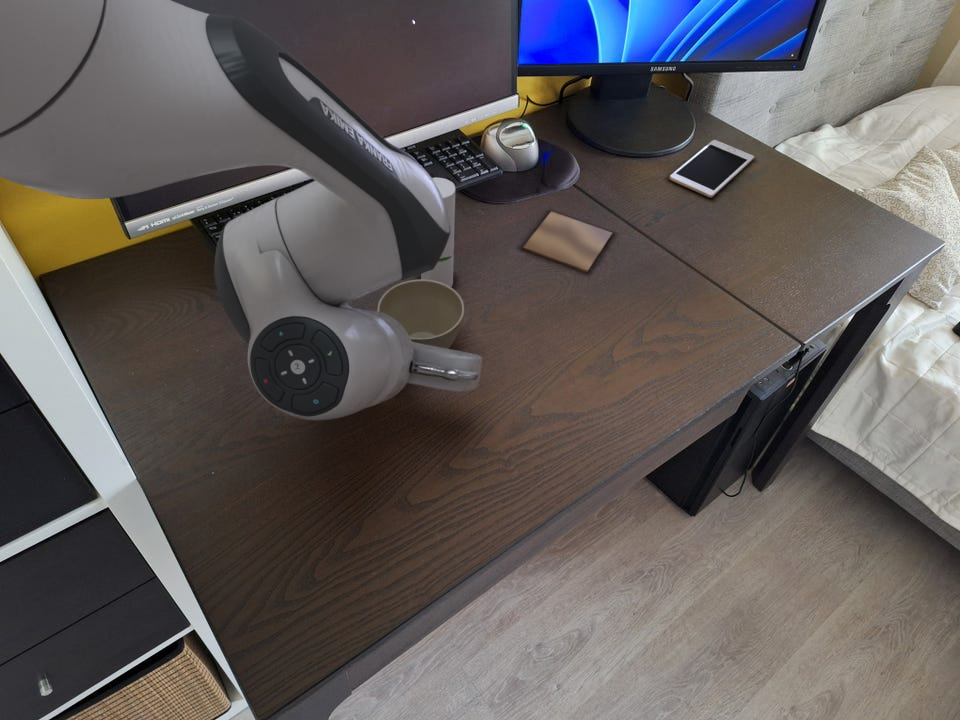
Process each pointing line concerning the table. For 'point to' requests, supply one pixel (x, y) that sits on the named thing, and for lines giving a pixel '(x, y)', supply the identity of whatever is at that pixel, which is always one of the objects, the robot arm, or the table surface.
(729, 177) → the cell phone
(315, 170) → the robot arm
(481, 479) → the table surface
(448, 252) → the tube
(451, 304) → the flower pot
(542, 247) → the shiny brown rectangular coaster
